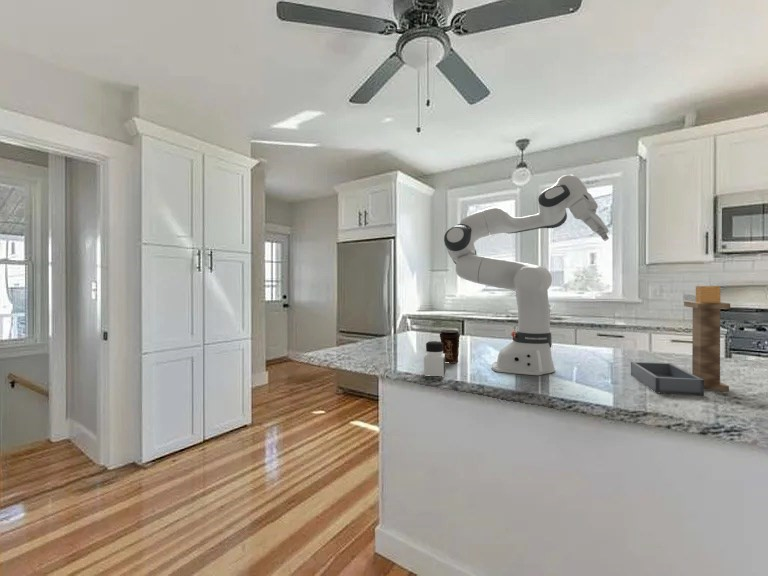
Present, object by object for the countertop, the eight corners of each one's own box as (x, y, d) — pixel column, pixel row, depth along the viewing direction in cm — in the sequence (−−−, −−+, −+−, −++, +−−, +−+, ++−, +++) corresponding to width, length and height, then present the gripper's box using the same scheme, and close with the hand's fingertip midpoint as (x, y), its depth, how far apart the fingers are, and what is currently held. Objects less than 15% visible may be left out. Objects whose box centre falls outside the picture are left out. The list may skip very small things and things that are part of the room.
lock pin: (700, 303, 118) (700, 286, 118) (678, 300, 132) (678, 285, 132) (720, 303, 117) (720, 286, 117) (695, 300, 131) (695, 285, 131)
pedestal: (697, 389, 117) (698, 303, 117) (683, 382, 126) (684, 301, 125) (729, 391, 115) (730, 303, 114) (713, 383, 124) (713, 301, 123)
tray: (655, 392, 115) (655, 377, 115) (630, 374, 136) (630, 361, 136) (703, 395, 112) (704, 379, 112) (670, 376, 133) (670, 363, 133)
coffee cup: (439, 359, 166) (439, 329, 166) (459, 359, 165) (459, 329, 165) (440, 364, 158) (439, 332, 157) (461, 364, 157) (460, 332, 156)
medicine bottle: (444, 377, 137) (443, 343, 137) (424, 376, 138) (423, 343, 138) (445, 372, 144) (444, 340, 144) (425, 372, 145) (425, 339, 145)
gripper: (587, 222, 157) (604, 249, 149) (564, 202, 144) (581, 230, 136) (602, 213, 153) (620, 239, 145) (580, 191, 140) (598, 219, 133)
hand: (601, 235), depth 141 cm, fingers open, 8 cm apart
